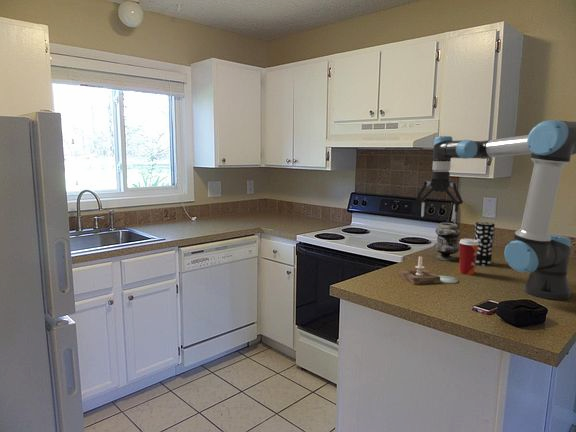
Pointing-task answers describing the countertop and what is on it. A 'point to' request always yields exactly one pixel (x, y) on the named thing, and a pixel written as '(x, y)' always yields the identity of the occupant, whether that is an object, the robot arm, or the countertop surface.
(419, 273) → the candle
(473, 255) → the coffee cup
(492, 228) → the spotted tube
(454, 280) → the coaster
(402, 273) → the holder
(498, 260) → the countertop surface
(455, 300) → the countertop surface
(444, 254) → the apothecary jar
